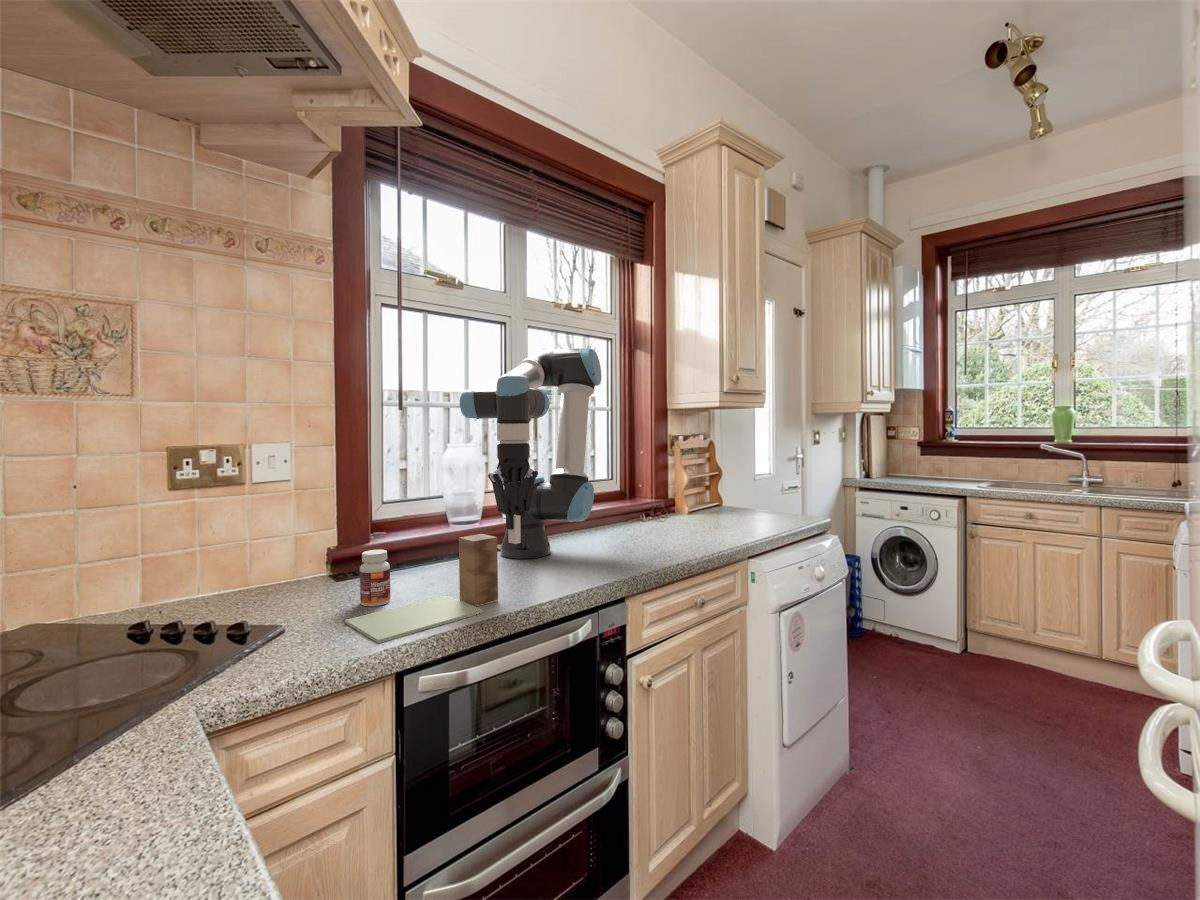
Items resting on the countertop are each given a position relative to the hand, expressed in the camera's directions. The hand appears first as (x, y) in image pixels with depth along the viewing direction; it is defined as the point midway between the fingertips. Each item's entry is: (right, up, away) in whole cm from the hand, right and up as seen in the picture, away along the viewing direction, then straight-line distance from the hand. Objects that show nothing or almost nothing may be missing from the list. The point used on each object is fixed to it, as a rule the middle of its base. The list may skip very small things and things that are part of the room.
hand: (514, 542), depth 127 cm
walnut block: (-7, -12, -7) cm, 15 cm away
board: (-17, -12, -17) cm, 28 cm away
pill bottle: (-29, -12, -8) cm, 33 cm away
